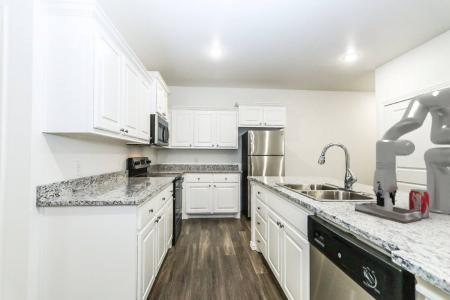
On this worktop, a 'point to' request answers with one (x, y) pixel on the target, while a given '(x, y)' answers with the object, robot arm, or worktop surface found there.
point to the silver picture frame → (389, 213)
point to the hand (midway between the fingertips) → (385, 205)
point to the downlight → (386, 202)
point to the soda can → (419, 201)
